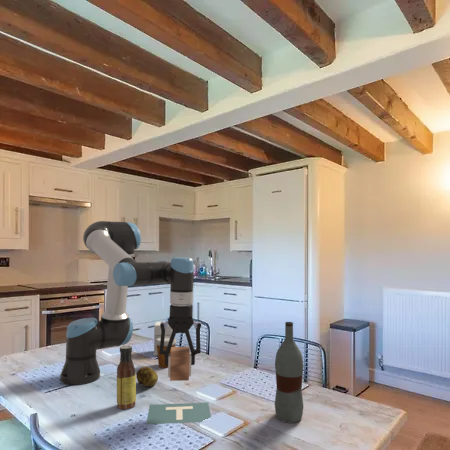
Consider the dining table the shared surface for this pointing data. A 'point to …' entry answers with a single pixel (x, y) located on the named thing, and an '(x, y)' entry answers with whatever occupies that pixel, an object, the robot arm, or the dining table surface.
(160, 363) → the disposable coffee cup
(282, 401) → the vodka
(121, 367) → the sauce bottle
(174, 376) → the wooden block
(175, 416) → the letter card
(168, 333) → the supplement box
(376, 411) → the dining table surface
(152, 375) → the potato
